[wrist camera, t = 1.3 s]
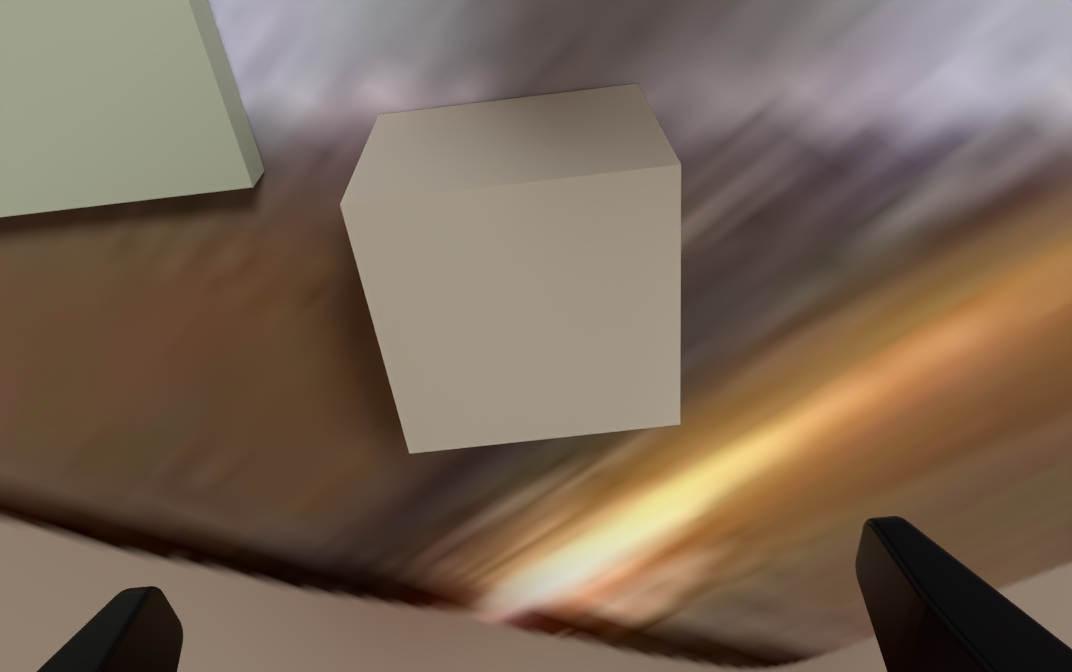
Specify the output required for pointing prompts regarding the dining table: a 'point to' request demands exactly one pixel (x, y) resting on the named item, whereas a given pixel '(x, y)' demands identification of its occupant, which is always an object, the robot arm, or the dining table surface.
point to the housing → (522, 266)
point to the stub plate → (116, 105)
